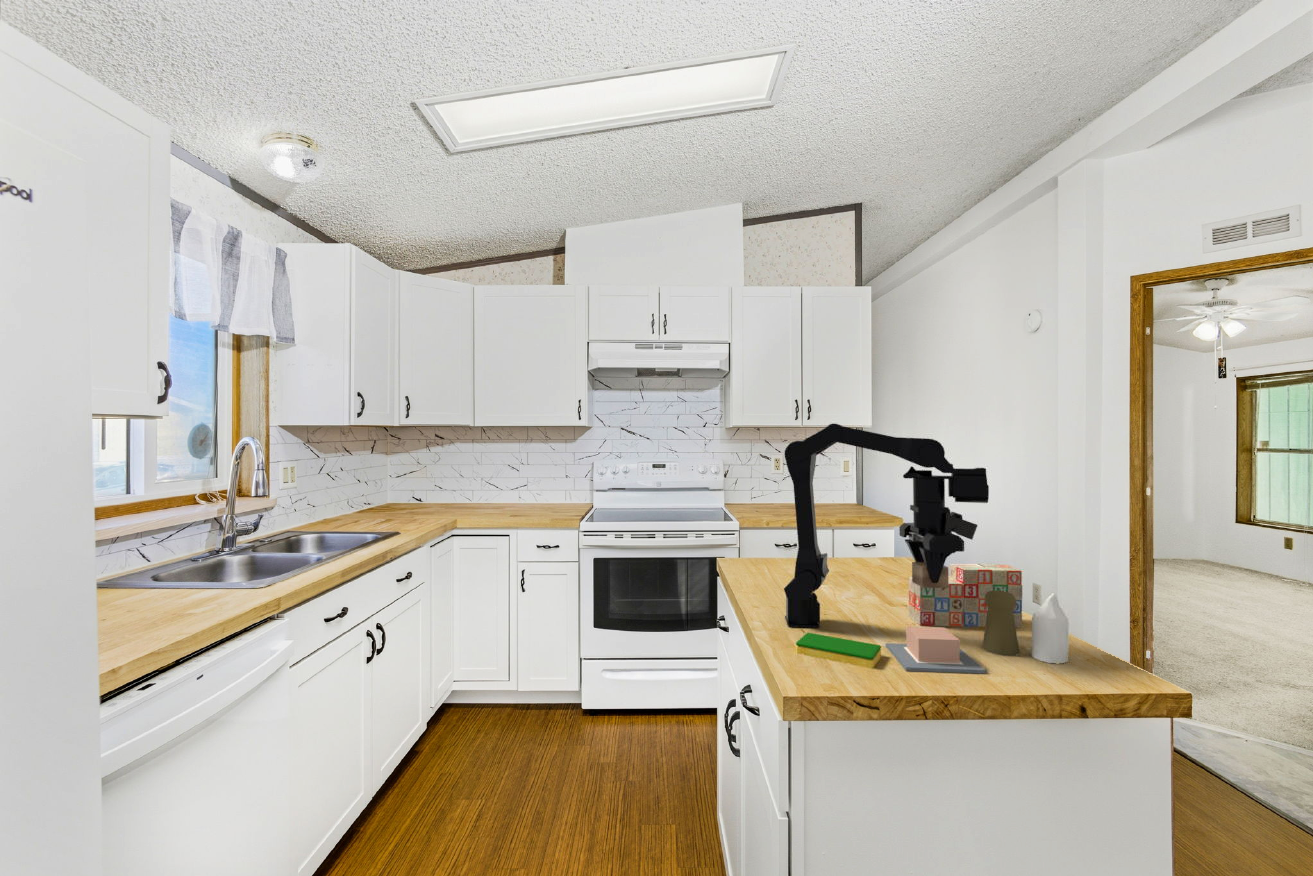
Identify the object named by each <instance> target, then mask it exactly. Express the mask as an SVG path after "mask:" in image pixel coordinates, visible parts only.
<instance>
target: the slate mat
mask: <svg viewBox="0 0 1313 876" xmlns="http://www.w3.org/2000/svg"><path fill="white" fill-rule="evenodd" d="M885 648H886V649H887V650H888V651H889V652H890V653H891V655H892V656H893V658H895V659H896V661H897V662H898V663H899V664H900V665H901V667H902V668H903V669H904V670H905V671H906V672H926V673H927V672H929V673H955V674H956V673H958V674H959V673H961V674H982V675H983V674H984V675H986V674H987V671H986V669H985V668H984V667H983V666H982V665H980V664H979V663H978V662H976V660H975V659H973V658H972V657H971V656H969V655H968V653H966V652H965V651H964V650H963V649H961V648H960V647H959V662H960V663H946V662H920V661H918V660H917V659H916V658H915V657H914V656H913V654H912V653H911V652H910V651H909V650H908V649H907V643H896V642H894V643H893V642H892V643H890V642H888V643H887V642H886V643H885Z"/></svg>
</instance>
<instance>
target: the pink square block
mask: <svg viewBox="0 0 1313 876" xmlns="http://www.w3.org/2000/svg"><path fill="white" fill-rule="evenodd" d="M905 631H906V644H907V649H908V650H909V651H910V652H911V653H912V654H913V656H914V657H915V658H916V659H917V660H918V661H920V662H946V663H960V662H959V648H960V639H959V638H958V637H956V636H955V635H954V634H953V633H951V632H950V631H949V630H948V629H947V628H946V627H942V626H906V629H905Z"/></svg>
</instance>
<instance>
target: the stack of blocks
mask: <svg viewBox="0 0 1313 876" xmlns="http://www.w3.org/2000/svg"><path fill="white" fill-rule="evenodd" d="M1022 572H1023V571H1022V570H1020V569H1018V568H1016V567H1013V566H1010V565H1007V564H992V563H949V576H948V582H949V588H922V587H920V586H919V585H917V584H915V583H914V582H912V576H909V577H908V617H909V618H910V619H911V620H913V621H914V622H915V623H917V624H918V626H928V627H981V626H986V618H987V611H988V607H987V606H986V604H985V594H986V593H987V592H988V591H992V590H1000V591H1005V592H1009V593H1011V594H1013V595H1014V597H1015V598H1016V608H1015V609H1014V610H1013V614H1014V621H1015V627H1016V628H1022V627H1023V585H1022V581H1023V580H1022V579H1023V578H1022V577H1023V575H1022V574H1023V573H1022Z"/></svg>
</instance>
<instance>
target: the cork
mask: <svg viewBox="0 0 1313 876" xmlns="http://www.w3.org/2000/svg"><path fill="white" fill-rule="evenodd" d="M985 604H986V606H987V607H988V611H987V618H986V626H985V627H984V634H983V641H982V649H983V650H984V651H986V652H987V653H988V652H989V653H991V654H994V655H998V656H1006V657H1009V656H1010V657H1012V656H1013V657H1014V656H1019V655H1020V647H1019V641H1018V634H1017V629H1016V628H1017V627H1015V621H1014V614H1013V610H1014V609H1015V608H1016V598H1015V597H1014V595H1013V594H1011V593H1009V592H1005V591H1000V590H992V591H988V592H987V593H986V594H985Z"/></svg>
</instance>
